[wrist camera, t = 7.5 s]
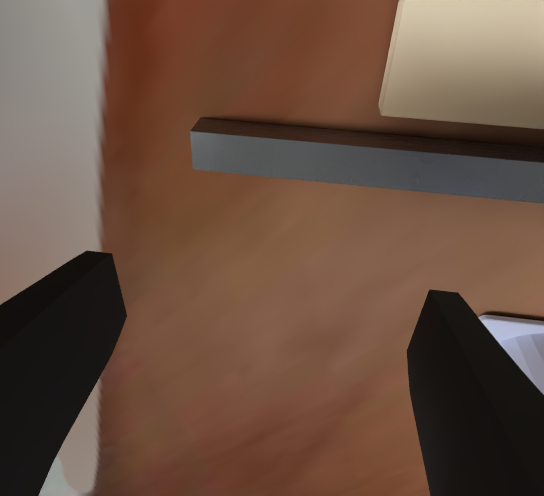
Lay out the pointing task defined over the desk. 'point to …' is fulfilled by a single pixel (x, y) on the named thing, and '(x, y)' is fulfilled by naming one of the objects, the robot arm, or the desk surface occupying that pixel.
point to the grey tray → (370, 159)
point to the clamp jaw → (467, 62)
